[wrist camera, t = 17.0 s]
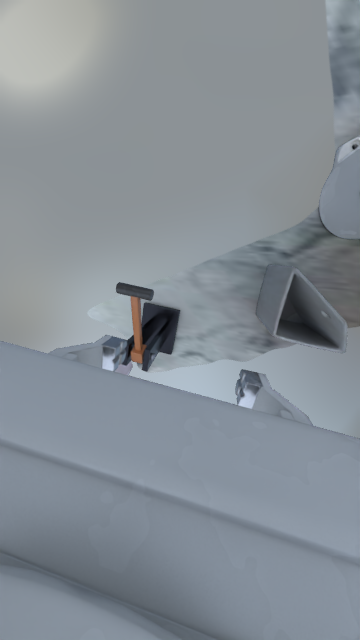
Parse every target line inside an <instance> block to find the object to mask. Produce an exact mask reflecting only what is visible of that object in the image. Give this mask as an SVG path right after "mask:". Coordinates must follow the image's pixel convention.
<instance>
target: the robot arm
mask: <svg viewBox="0 0 360 640" xmlns="http://www.w3.org/2000/svg"><path fill="white" fill-rule="evenodd" d="M352 146H354V147H355V149H354V150H353V149H352ZM319 213H320V217H321V220H322V222H323V224H324V226H325V227H326V228H327V229H328V230H329V231H330V232H331V233H332V234H334V235H336V236H338V237H341V238H345V239H360V136H358V137H356V138H354V139H352V140H350V141H348V142H346V143H345V144H343V145H342V146H341V147H339V149H338V150H337V152H336V155H335V159H334V164H333V169H332V171H331V173H330V175H329V177H328V179H327V180H326V182H325V184H324V186H323V189H322V192H321V195H320V200H319ZM126 346H127V340H124V339H121V338H117V337H113V336H110V335H105V336H104V337H102V338H101V339H99V340H98V341H96V342H95V343H87V344H81V345H76V346H70V347H64V348H58V349H55V350H53V351H52V352H50V353H48V354H47V353H44V352H40V351H36V350H32V349H29V348H25V347H21V346H18V345H14V344H10V343H7V342H3V341H0V640H360V438H356V437H352V436H349V435H345V434H342V433H338V432H334V431H330V430H327V429H323V428H320V427H316V426H313V424H312V423H311V421H310V419H309V418H308V416H307V415H306V414H304V413H303V412H302V411H300V410H299V409H298V408H297V407H295V406H294V405H293V404H291V403H290V402H289V401H288V400H287V399H285V398H284V397H283V396H281V395H280V394H279V393H278V392H277V391H275V390H273V389H272V388H271V386H270V383H269V381H268V379H267V377H266V375H265V374H260V373H257V372H252V371H248V370H243V369H242V370H241V372H240V374H239V375H240V379H239V380H237V383H236V389H235V390H236V395H237V396H238V397H237V404H238V405H235V404H231V403H227V402H223V401H220V400H216V399H213V398H209V397H205V396H202V395H198V394H194V393H190V392H187V391H183V390H180V389H176V388H172V387H168V386H164V385H161V384H158V383H153V382H150V381H146V380H143V379H139V378H135V377H132V376H128V375H125V374H121V373H117V372H115V370H116V369H117V368H118V365H119V364H122V363H123V361H124V359H125V356H126V350H125V347H126Z"/></svg>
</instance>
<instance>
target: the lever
mask: <svg viewBox="0 0 360 640" xmlns="http://www.w3.org/2000/svg"><path fill="white" fill-rule="evenodd" d="M116 292H117V293H120V294H123V295H128V296H131V308H132V319H133V331H134V342H135V345H134V347H133V349H132V351H131V359H132V361H133V362H137V363H141V364H143V360H144V353H145V349H146V347H147V345H143V344H142V325H141V303H140V298H141V299H145V300H150V301H151V300H152V298H153V295H154V291H153V290H152V289H148V288H143V287H139V286H134V285H129V284H125V283H120V282H119V283H118V284H117V286H116Z"/></svg>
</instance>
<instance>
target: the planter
mask: <svg viewBox="0 0 360 640" xmlns="http://www.w3.org/2000/svg"><path fill="white" fill-rule="evenodd" d="M326 314H327V315H329V316H327V315H326ZM256 315H257V316H258V318H259V319H260V320H261V321H262V323H263V324H264V325H265V327H266V328H267V329H268V331H269V332H270V333H271V334H272V336H273V337H276V338H279V339H282V340H285V341H289V342H292V343H296V344H300V345H305V346H309V347H314V348H318V349H323V350H328V351H333V352H338V353H345V352H346V346H347V322H346V321H345V320H344V319H343V317H342V316H341V315H340V314H339V313H338V312H337V311H336V310H335V309H334V307H333V306H332V305H331V304H330V303H329V302H328V301H327V300H326V299H325V298H324V296H323V295H322V294H321V293H320V292H319V291H318V290H317V289H316V288H315V287H314V285H313V284H312V283H311V282H310V281H309V280H308V279H307V278H306V277H305V276H304V275H303V274H302V273H301V271H300V270H299V269H298V268H296V267H292V266H282V265H268V267H267V271H266V274H265V277H264V281H263V284H262V288H261V292H260V296H259V300H258V304H257V310H256Z"/></svg>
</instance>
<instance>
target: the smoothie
mask: <svg viewBox="0 0 360 640" xmlns="http://www.w3.org/2000/svg"><path fill="white" fill-rule="evenodd" d="M131 369H132V363H131V361H130V362H129V364H128V365H127V366H125V365H122V364H119V365H118V368H117V369H116V370H115V372H117V373H121V374H125V375H129V373H130V371H131Z"/></svg>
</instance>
